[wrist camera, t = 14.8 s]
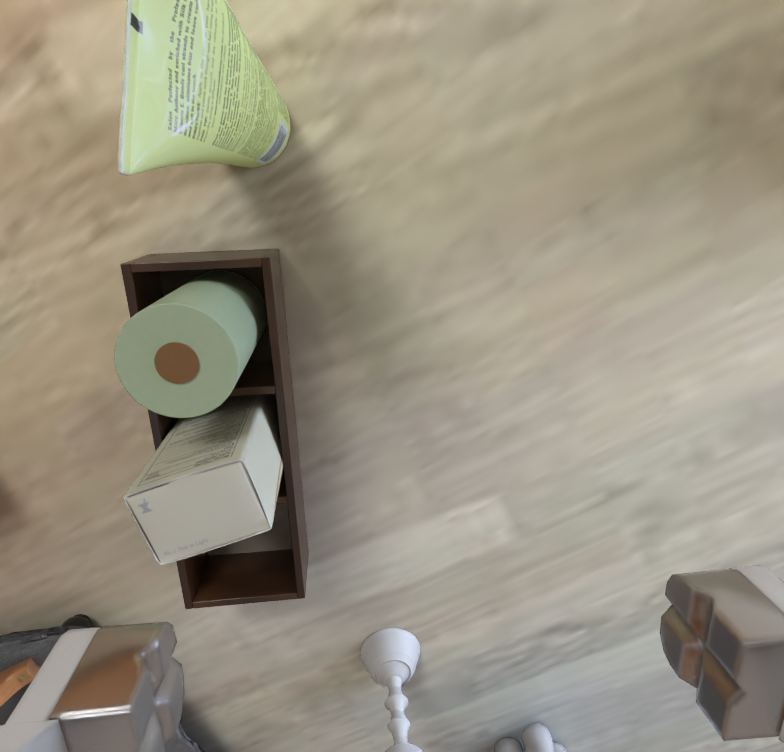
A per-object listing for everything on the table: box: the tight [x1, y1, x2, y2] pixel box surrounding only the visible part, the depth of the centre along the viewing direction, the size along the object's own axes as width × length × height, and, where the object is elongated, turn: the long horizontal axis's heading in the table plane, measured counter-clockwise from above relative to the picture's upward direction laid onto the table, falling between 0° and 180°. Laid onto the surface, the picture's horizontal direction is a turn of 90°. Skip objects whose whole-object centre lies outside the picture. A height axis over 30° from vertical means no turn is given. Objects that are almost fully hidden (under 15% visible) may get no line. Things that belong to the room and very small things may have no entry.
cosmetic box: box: [123, 394, 283, 565], centre depth 33 cm, size 6×4×12 cm
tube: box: [118, 0, 290, 175], centre depth 23 cm, size 6×5×20 cm
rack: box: [121, 249, 308, 609], centre depth 36 cm, size 8×23×5 cm, turn 2°
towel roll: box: [114, 271, 267, 418], centre depth 31 cm, size 6×6×11 cm
